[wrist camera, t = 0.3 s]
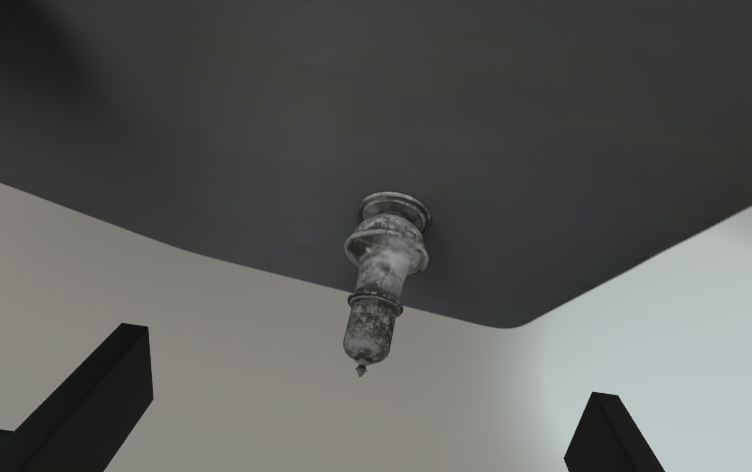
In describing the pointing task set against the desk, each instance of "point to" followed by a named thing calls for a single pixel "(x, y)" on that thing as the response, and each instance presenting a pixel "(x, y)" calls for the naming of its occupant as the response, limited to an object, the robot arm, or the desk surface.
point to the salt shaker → (382, 271)
